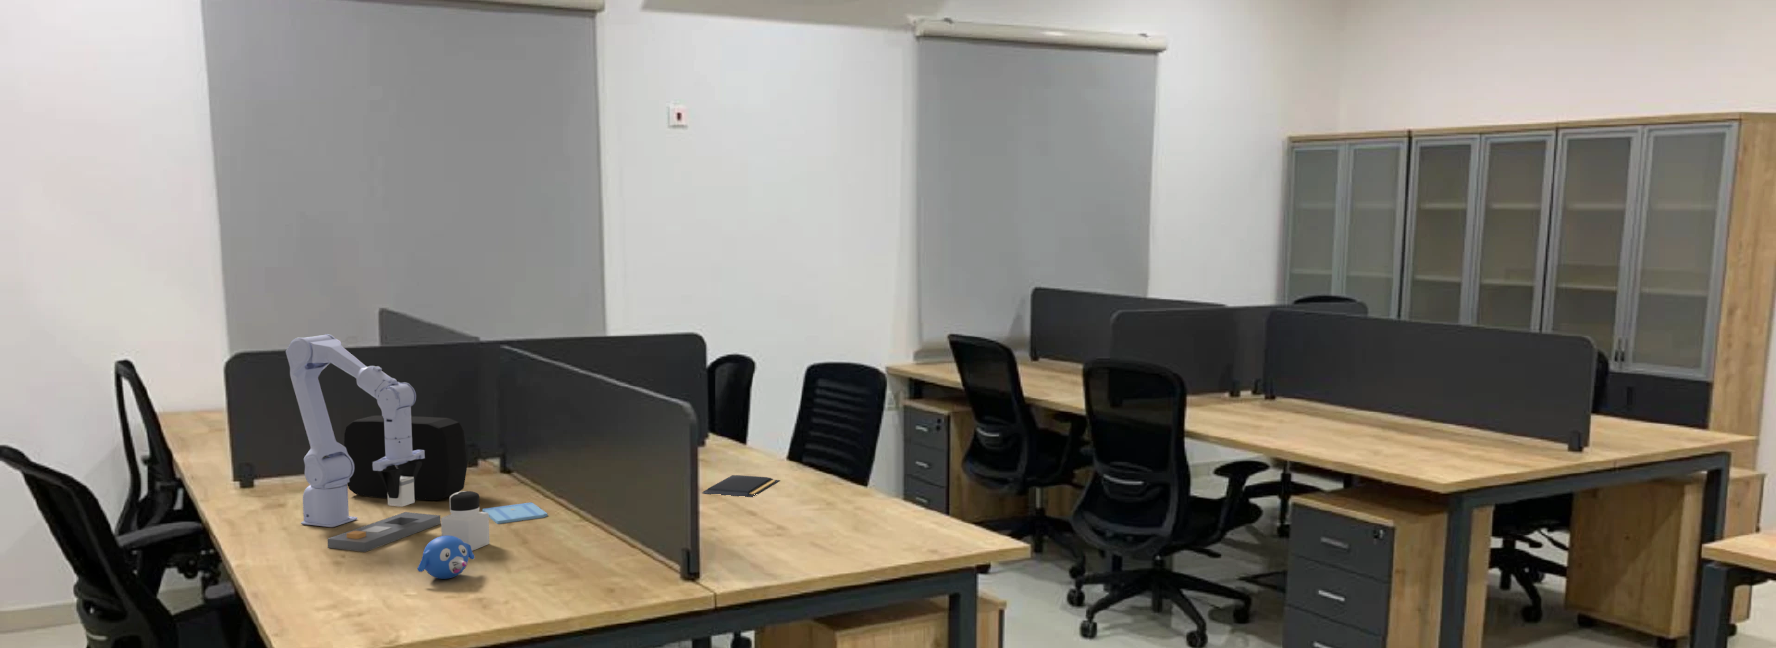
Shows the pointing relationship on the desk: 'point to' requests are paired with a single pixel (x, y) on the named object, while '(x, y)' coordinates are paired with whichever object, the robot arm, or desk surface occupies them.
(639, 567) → the desk surface
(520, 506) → the light blue flat rectangle
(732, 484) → the black notebook
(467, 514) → the medicine bottle
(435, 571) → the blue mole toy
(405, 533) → the grey slab
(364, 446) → the black hard case
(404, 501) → the block
